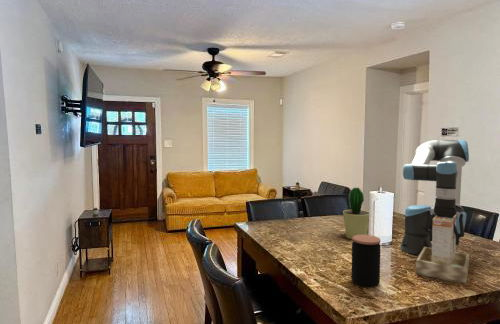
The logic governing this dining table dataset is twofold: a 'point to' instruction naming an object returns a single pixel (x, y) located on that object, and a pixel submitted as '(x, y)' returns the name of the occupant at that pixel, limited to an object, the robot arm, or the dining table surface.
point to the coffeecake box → (443, 240)
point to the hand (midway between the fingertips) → (443, 250)
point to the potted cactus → (356, 215)
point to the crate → (443, 267)
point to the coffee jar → (366, 260)
